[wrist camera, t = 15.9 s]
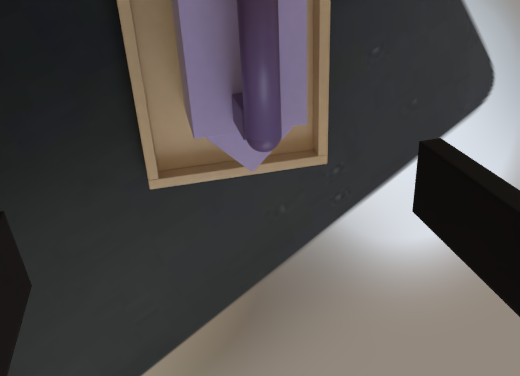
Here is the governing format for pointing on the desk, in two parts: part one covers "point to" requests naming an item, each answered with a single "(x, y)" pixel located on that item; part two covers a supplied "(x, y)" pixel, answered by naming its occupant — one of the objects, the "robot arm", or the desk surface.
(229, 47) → the iron
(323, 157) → the tray
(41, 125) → the desk surface
